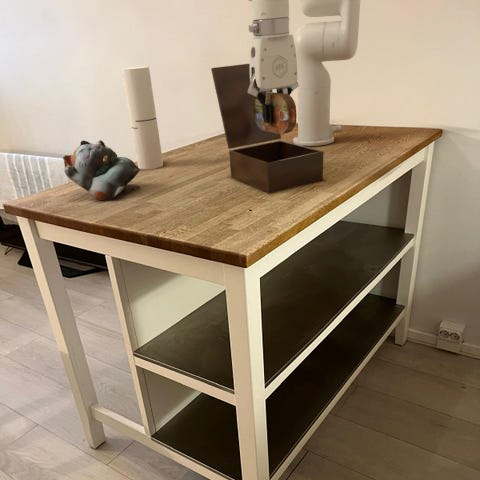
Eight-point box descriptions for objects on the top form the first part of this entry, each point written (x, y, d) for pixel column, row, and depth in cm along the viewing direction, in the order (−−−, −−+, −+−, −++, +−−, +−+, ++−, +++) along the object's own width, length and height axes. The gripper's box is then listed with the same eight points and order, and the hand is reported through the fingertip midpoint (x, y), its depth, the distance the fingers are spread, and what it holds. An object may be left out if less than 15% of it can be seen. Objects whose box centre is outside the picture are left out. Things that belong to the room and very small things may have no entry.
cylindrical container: (158, 169, 134) (142, 68, 121) (134, 169, 136) (116, 69, 123) (166, 162, 140) (152, 65, 127) (143, 163, 142) (127, 67, 129)
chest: (323, 180, 114) (323, 151, 111) (268, 193, 109) (267, 163, 105) (281, 166, 128) (280, 140, 124) (231, 177, 122) (229, 150, 119)
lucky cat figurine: (108, 204, 109) (65, 150, 104) (86, 215, 119) (46, 166, 113) (149, 169, 117) (112, 117, 111) (126, 182, 126) (90, 134, 120)
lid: (267, 61, 119) (265, 62, 120) (212, 67, 113) (210, 68, 114) (281, 138, 124) (280, 138, 125) (229, 148, 118) (228, 149, 119)
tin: (254, 128, 118) (249, 91, 114) (265, 125, 119) (260, 88, 115) (289, 137, 107) (285, 96, 102) (300, 133, 108) (297, 93, 103)
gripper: (247, 32, 96) (252, 130, 106) (313, 25, 102) (312, 117, 112) (229, 33, 102) (236, 125, 112) (292, 25, 108) (294, 114, 118)
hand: (274, 120), depth 112 cm, fingers closed on tin, 2 cm apart
